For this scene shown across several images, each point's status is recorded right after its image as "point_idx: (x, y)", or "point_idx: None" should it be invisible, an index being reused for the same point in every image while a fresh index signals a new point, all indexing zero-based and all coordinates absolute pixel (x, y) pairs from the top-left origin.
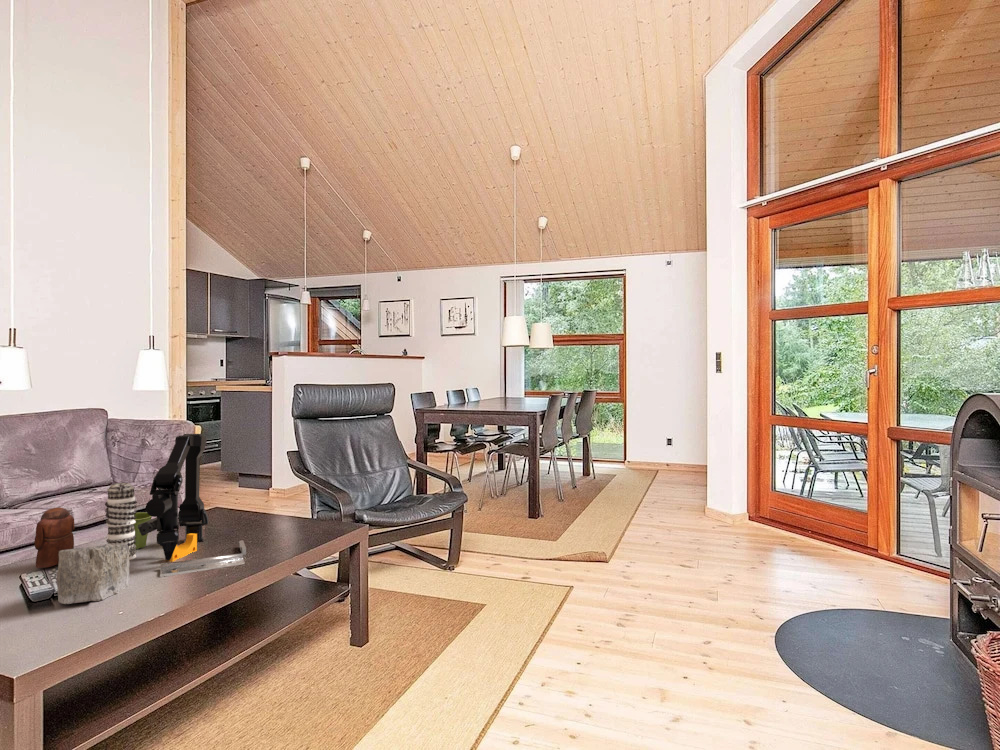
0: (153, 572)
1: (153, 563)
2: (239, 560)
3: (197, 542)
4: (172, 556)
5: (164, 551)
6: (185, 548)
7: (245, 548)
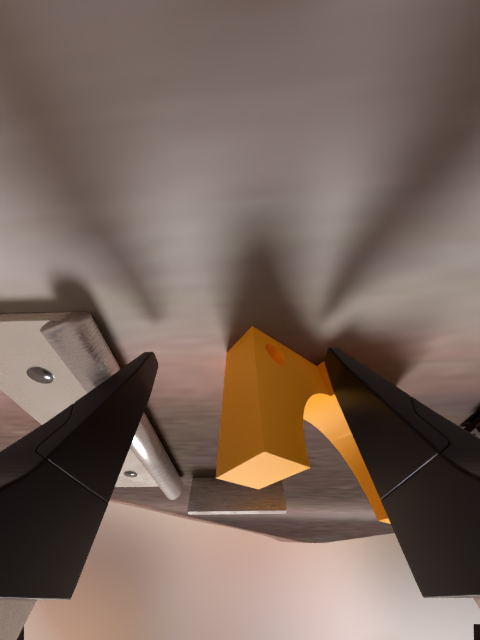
0: (34, 277)
1: (246, 264)
2: (140, 482)
3: (476, 421)
4: (225, 375)
5: (68, 411)
6: (325, 422)
7: (189, 513)
